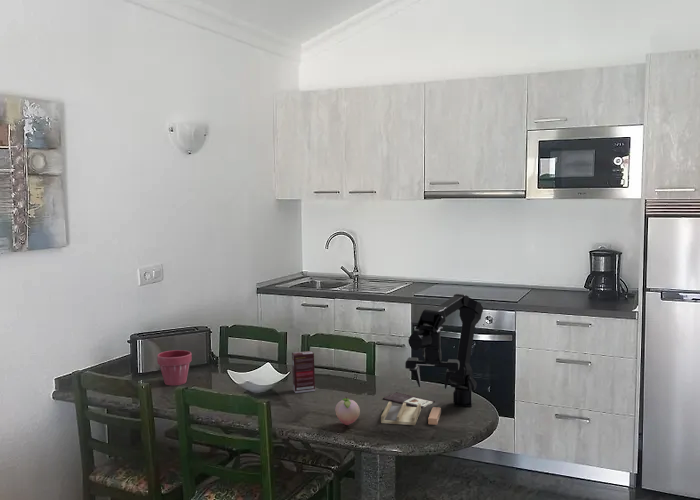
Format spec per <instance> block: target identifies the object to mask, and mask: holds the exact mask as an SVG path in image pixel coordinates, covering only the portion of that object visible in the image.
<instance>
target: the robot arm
mask: <svg viewBox="0 0 700 500" xmlns="http://www.w3.org/2000/svg"><path fill="white" fill-rule="evenodd" d="M456 311H458V312H459V313H458V314H459V318H460V320H461V329H460V334H459V342H458V349H457V354H456V355H457V356H456V358H455V359H453V358H452V359H451V358H448V360H447V361H442V358H443V356H442V353H443V352H442V349H441V347H442V345H441V332H443V331H445V330H444V328H443V326H442V325H443V324H444V323H446V319H447V317H448V316H450V315H452V314H453V313H454V312H456ZM483 312H484V306H483V305H482V304H481V302H480V301H476V300H475V299H473V298H471V297H469V296H468V295H467V294H463V293H455V294H454V295H453V296H451V298H449V299H447V300H445V301H444V302H442V303H441V304H439V305H438V306H433V307H432V306H431V307H429V308H428V307H427V308H425V309H424V310H422V312H421V314H420V317H419V319H418V322H417V324H416V327H415V329H413V331H412V332H413V333H411V335H410V336H409V337H408V346H410V348H411V349H412V350H414V351H418V350H421V349H422V350H421V352H422V353H421V355H422V357H424V358H423V359H424V360H419V357H411V356H409V357H408V358H407V359H406V360H405V363H404V364H405V369H407V370H408V371H409V372H411V373H412V375H413V376H414V378H415V380H416V383H417V386H418V387H419V388H421V376H420V375H421V374H420V367H433V368H446V371H445V380H444V389H447V387H448V383H449V385H450V388H454V390H453V391H452V392H453V399H452V400H453V401H452V402H453V404H454V406H455V407H456V406H457V407H472V406H473V391H474V392H475V390H476V389H477V386H478V382H477V381H476V380H475V378H474V377H473V372H474V371H473V369H472V366H471V362H470V361H471V357H472V356H471V355H472V349H473V342H474V336H475V330H476V326H477V324H478V323H479V322H480V321H481V318H482V315H483Z"/></svg>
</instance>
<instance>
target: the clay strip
mask: <svg viewBox="0 0 700 500" xmlns="http://www.w3.org/2000/svg"><path fill="white" fill-rule="evenodd" d="M441 414H442V407H438V406H437V407H435V406H433V407H432V408H431V411H430V413H429V416H428V418H427V422H428V423H427V424H428V425H432V426H433V425H434V426H435V425H436V426H437V425H438V423H439V421H440V418H441Z"/></svg>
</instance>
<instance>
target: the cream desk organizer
mask: <svg viewBox="0 0 700 500" xmlns="http://www.w3.org/2000/svg"><path fill="white" fill-rule="evenodd" d="M392 403H393V402H392V401H388V403H387V405H386V406H385V408H384V410H383V412H382V414H381V416H380V423H381V424H387V425H388V424H391V425H407V426H416V423H417V421H418V418H419V416H420V414H421V410H422V408H421V404H419V403H418V405H417V407H413V406H407V405H406V403H403V404H401V405H393V404H392Z"/></svg>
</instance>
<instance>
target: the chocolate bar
mask: <svg viewBox="0 0 700 500" xmlns="http://www.w3.org/2000/svg"><path fill="white" fill-rule="evenodd" d="M382 400H384V401H388V402H392V403H397V404H400V405H403V403H406V406H408V407H417V405H418V403H419V404H421V409H423V408H425V407H428V406H430V405H432V404H434V403H435V402H436V401H435V400H433V399H428V398H423V397H419V396H416V395H410V394H406V393H400V392H398V391H397V392H393V393H392V394H389V395H387V396H385V397H383V398H382Z"/></svg>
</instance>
